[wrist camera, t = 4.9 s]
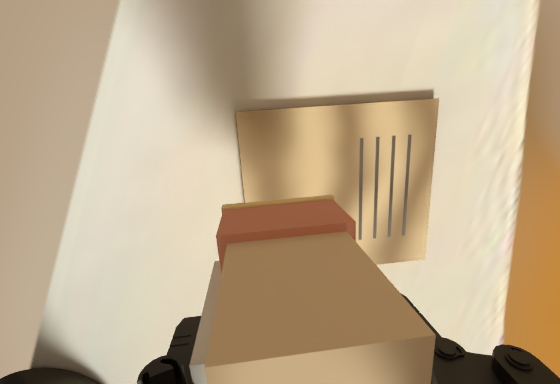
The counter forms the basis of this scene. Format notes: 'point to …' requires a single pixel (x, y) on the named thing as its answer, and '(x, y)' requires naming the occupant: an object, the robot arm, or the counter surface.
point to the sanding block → (308, 303)
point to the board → (349, 166)
